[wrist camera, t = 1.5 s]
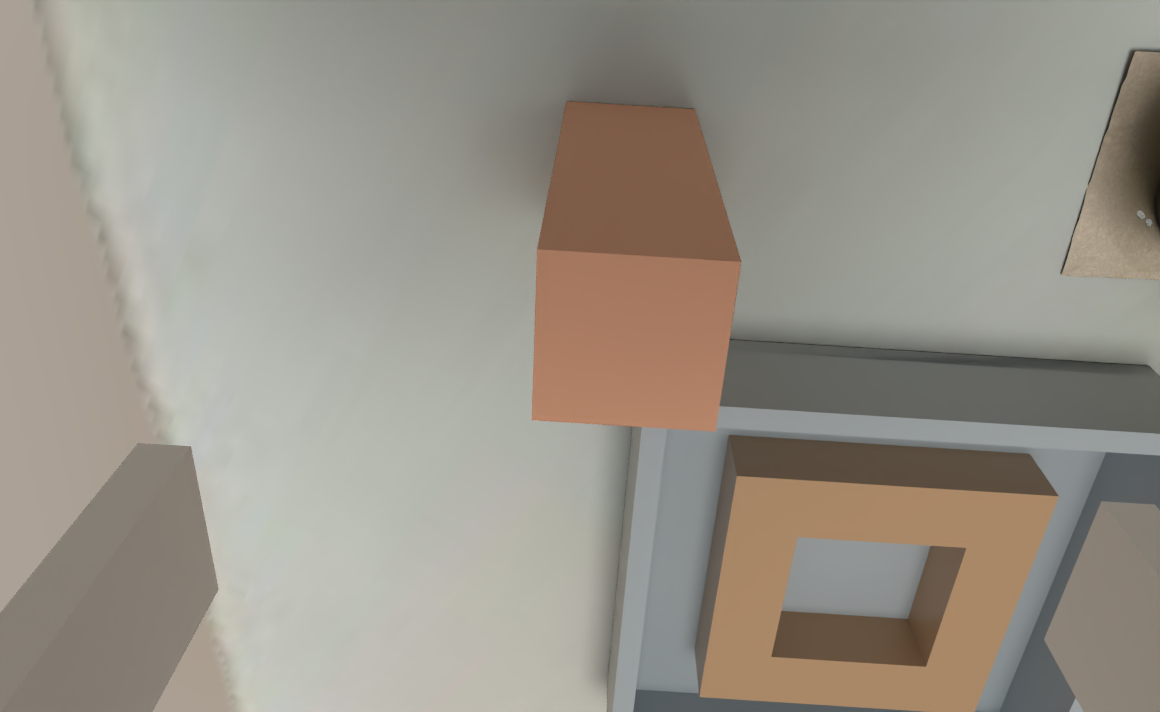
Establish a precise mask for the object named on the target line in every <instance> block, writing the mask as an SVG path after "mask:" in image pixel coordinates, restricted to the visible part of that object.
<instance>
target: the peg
mask: <svg viewBox="0 0 1160 712" xmlns="http://www.w3.org/2000/svg"><path fill="white" fill-rule="evenodd" d="M740 267H741V259H740V256H739V253H738V249H737V246H736V243H735V239H734V236H733V233H732V230H731V226H730V223H729V220H728V216H727V213H726V210H725V207H724V203H723V200H722V197H721V193H720V190H719V187H718V184H717V180H716V177H715V174H714V170H713V167H712V164H711V161H710V157H709V154H708V151H707V147H706V144H705V141H704V138H703V134H702V131H701V128H700V124H699V121H698V118H697V115H696V111H695V109H685V108H668V107H652V106H636V105H619V104H603V103H587V102H571V101H567V102H566V107H565V112H564V117H563V122H562V127H561V133H560V138H559V143H558V148H557V153H556V158H555V163H554V168H553V173H552V178H551V183H550V188H549V193H548V198H547V203H546V208H545V213H544V218H543V223H542V228H541V233H540V238H539V243H538V248H537V272H536V304H535V336H534V368H533V400H532V420H539V421H554V422H570V423H586V424H602V425H618V426H633V427H649V428H665V429H681V430H697V431H712V432H716V426H717V419H718V413H719V406H720V400H721V393H722V386H723V380H724V373H725V367H726V360H727V353H728V347H729V340H730V334H731V327H732V320H733V314H734V307H735V301H736V294H737V287H738V281H739V274H740Z"/></svg>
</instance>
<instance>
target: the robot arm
mask: <svg viewBox="0 0 1160 712" xmlns="http://www.w3.org/2000/svg"><path fill="white" fill-rule="evenodd" d="M217 591H218V584H217V579H216V574H215V569H214V564H213V558H212V553H211V548H210V543H209V538H208V533H207V527H206V522H205V517H204V512H203V507H202V502H201V496H200V491H199V486H198V481H197V476H196V471H195V465H194V460H193V455H192V450H191V446H176V445H159V444H142V443H138V444H137V445H136V446H135V447H134V449H133V450H132V451H131V452H130V454H129V455H128V456H127V457H126V459H125V460H124V461H123V462H122V464H121V465H120V466H119V467H118V468H117V470H116V471H115V472H114V473H113V475H112V476H111V477H110V478H109V479H108V481H107V482H106V483H105V485H104V486H103V487H102V488H101V489H100V491H99V492H98V493H97V494H96V496H95V497H94V498H93V499H92V501H91V502H90V503H89V504H88V506H87V507H86V508H85V509H84V510H83V512H82V513H81V514H80V515H79V516H78V518H77V519H76V520H75V521H74V523H73V524H72V525H71V526H70V528H69V529H68V530H67V531H66V532H65V534H64V535H63V536H62V537H61V539H60V540H59V541H58V543H57V544H56V545H55V546H54V547H53V549H52V550H51V551H50V553H48V555H47V556H46V557H45V558H44V560H43V561H42V562H41V563H40V565H39V566H38V567H37V568H36V569H35V571H34V572H33V573H32V574H31V576H30V577H29V578H28V579H27V581H26V582H25V583H24V584H23V586H22V587H21V588H20V589H19V590H18V592H17V593H16V594H15V595H14V597H13V598H12V599H11V601H10V602H9V603H8V604H7V605H6V607H5V608H4V609H3V610H2V611H1V613H0V712H152V711H153V710H154V708H155V706H156V704H157V702H158V700H159V698H160V697H161V695H162V693H163V691H164V689H165V687H166V685H167V684H168V682H169V680H170V678H171V676H172V674H173V673H174V671H175V669H176V667H177V665H178V663H179V661H180V660H181V658H182V656H183V654H184V652H185V650H186V648H187V647H188V645H189V643H190V641H191V639H192V637H193V635H194V634H195V632H196V630H197V628H198V626H199V624H200V623H201V621H202V619H203V617H204V615H205V613H206V611H207V610H208V608H209V606H210V604H211V602H212V600H213V598H214V597H215V595H216V593H217ZM1044 641H1045V642H1046V644H1047V646H1048V648H1049V650H1050V652H1051V653H1052V655H1053V657H1054V659H1055V661H1056V663H1057V664H1058V666H1059V668H1060V670H1061V672H1062V673H1063V675H1064V677H1065V679H1066V681H1067V683H1068V684H1069V686H1070V688H1071V690H1072V692H1073V693H1074V695H1075V697H1076V699H1077V701H1078V703H1079V704H1080V706H1081V708H1082V710H1083V712H1160V510H1159V509H1158V508H1157V507H1156V505H1155V504H1138V503H1122V502H1105V501H1101V504H1100V506H1099V508H1098V511H1097V513H1096V516H1095V518H1094V520H1093V523H1092V525H1091V528H1090V530H1089V532H1088V535H1087V537H1086V540H1085V542H1084V544H1083V547H1082V549H1081V552H1080V554H1079V556H1078V559H1077V561H1076V564H1075V566H1074V568H1073V571H1072V573H1071V576H1070V578H1069V580H1068V583H1067V585H1066V588H1065V590H1064V592H1063V595H1062V597H1061V600H1060V602H1059V604H1058V607H1057V609H1056V612H1055V614H1054V616H1053V619H1052V621H1051V624H1050V626H1049V628H1048V631H1047V633H1046V636H1045V638H1044Z"/></svg>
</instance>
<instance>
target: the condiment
mask: <svg viewBox="0 0 1160 712" xmlns="http://www.w3.org/2000/svg"><path fill="white" fill-rule="evenodd" d="M1138 210H1141V211H1143V212H1144V213H1145V218H1144V219H1141V218H1139V217H1138V216H1137V211H1138ZM1146 219H1151V220H1152V222H1153V224H1152V225H1151V227H1150V226H1147V224H1146V222H1145V221H1146ZM1062 275H1064V276H1081V277H1112V278H1123V279H1126V278H1141V279H1153V280H1158V279H1160V52H1140V51H1135V53H1134V56H1133V59H1132V61H1131V64H1130V67H1129V70H1128V73H1127V77H1126V79H1125V81H1124V82H1123V84H1122V87H1121V90H1120V93H1119V97H1118V100H1117V102H1116V105H1115V108H1114V111H1113V114H1112V117H1111V120H1110V124H1109V128H1108V130H1107V132H1106V134H1105V136H1104V140H1103V143H1102V146H1101V150H1100V152H1099V155H1098V159H1097V162H1096V165H1095V168H1094V172H1093V175H1092V178H1091V181H1090V183H1089V184H1088V187H1087V189H1086V196H1085V200H1084V205H1083V208H1082V212H1081V215H1080V218H1079V221H1078V224H1077V226H1076V229H1075V231H1074V234H1073V237H1072V242H1071V247H1070V250H1069V253H1068V257H1067V260H1066V263H1065V266H1064V269H1063V272H1062Z"/></svg>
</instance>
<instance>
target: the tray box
mask: <svg viewBox="0 0 1160 712" xmlns="http://www.w3.org/2000/svg"><path fill="white" fill-rule="evenodd" d="M1101 501H1105V502H1122V503H1138V504H1155V505H1156V507H1157V508H1158V509H1159V510H1160V376H1159V375H1158V374H1157V373H1156V372H1155V371H1154V370H1153V369H1152V368H1151V367H1150V366H1143V365H1127V364H1111V363H1095V362H1079V361H1063V360H1047V359H1031V358H1015V357H999V356H983V355H967V354H951V353H935V352H919V351H903V350H887V349H871V348H855V347H839V346H823V345H807V344H791V343H775V342H759V341H743V340H729V347H728V353H727V360H726V367H725V373H724V380H723V386H722V393H721V400H720V406H719V413H718V419H717V426H716V432H712V431H697V430H681V429H665V428H649V427H633V426H632V432H631V443H630V453H629V463H628V474H627V484H626V494H625V505H624V515H623V526H622V536H621V546H620V557H619V567H618V577H617V588H616V598H615V609H614V619H613V629H612V640H611V650H610V660H609V671H608V681H607V712H1083V710H1082V708H1081V706H1080V704H1079V703H1078V701H1077V699H1076V697H1075V695H1074V693H1073V692H1072V690H1071V688H1070V686H1069V684H1068V683H1067V681H1066V679H1065V677H1064V675H1063V673H1062V672H1061V670H1060V668H1059V666H1058V664H1057V663H1056V661H1055V659H1054V657H1053V655H1052V653H1051V652H1050V650H1049V648H1048V646H1047V644H1046V642H1045V641H1044V638H1045V636H1046V633H1047V631H1048V628H1049V626H1050V624H1051V621H1052V619H1053V616H1054V614H1055V612H1056V609H1057V607H1058V604H1059V602H1060V600H1061V597H1062V595H1063V592H1064V590H1065V588H1066V585H1067V583H1068V580H1069V578H1070V576H1071V573H1072V571H1073V568H1074V566H1075V564H1076V561H1077V559H1078V556H1079V554H1080V552H1081V549H1082V547H1083V544H1084V542H1085V540H1086V537H1087V535H1088V532H1089V530H1090V528H1091V525H1092V523H1093V520H1094V518H1095V516H1096V513H1097V511H1098V508H1099V506H1100V504H1101Z"/></svg>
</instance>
